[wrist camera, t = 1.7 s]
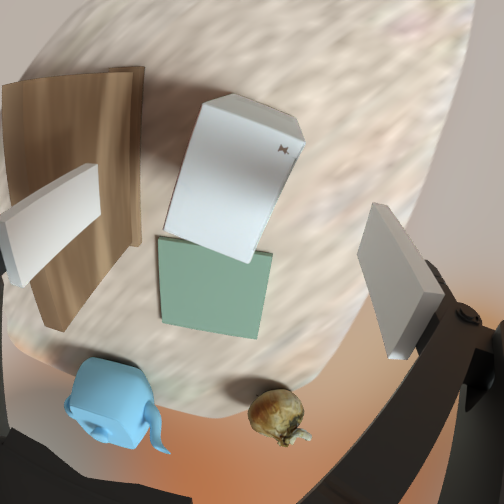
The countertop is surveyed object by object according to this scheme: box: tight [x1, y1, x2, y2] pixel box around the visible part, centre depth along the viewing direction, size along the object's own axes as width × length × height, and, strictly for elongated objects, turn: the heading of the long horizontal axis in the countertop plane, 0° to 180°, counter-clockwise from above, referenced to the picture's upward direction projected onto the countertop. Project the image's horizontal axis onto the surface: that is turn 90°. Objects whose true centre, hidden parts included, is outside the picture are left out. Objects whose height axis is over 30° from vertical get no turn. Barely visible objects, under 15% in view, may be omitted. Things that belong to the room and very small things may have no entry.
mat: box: [158, 236, 273, 339], centre depth 33 cm, size 11×11×1 cm
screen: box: [2, 66, 145, 332], centre depth 20 cm, size 3×17×14 cm, turn 173°
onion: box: [248, 389, 312, 447], centre depth 38 cm, size 8×8×8 cm
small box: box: [163, 94, 306, 264], centre depth 21 cm, size 8×6×10 cm
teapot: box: [64, 357, 171, 454], centre depth 39 cm, size 12×18×12 cm
